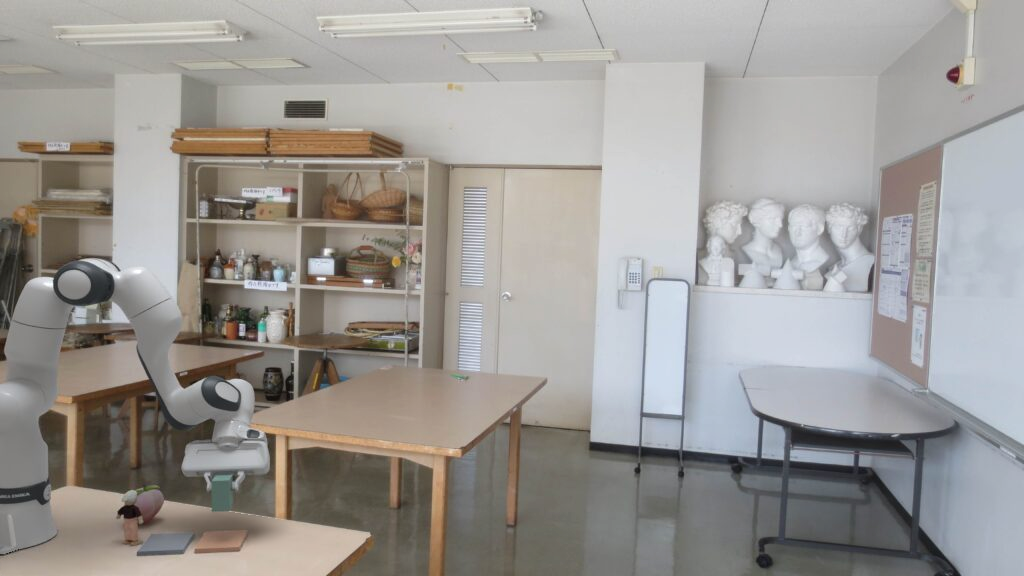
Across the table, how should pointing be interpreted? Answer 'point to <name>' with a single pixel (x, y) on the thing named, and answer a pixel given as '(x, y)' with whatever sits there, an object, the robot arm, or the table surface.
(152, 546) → the slate tile
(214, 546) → the terracotta tile
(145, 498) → the decorative fruit
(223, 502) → the green wooden block
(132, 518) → the grandmother figurine
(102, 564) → the table surface
